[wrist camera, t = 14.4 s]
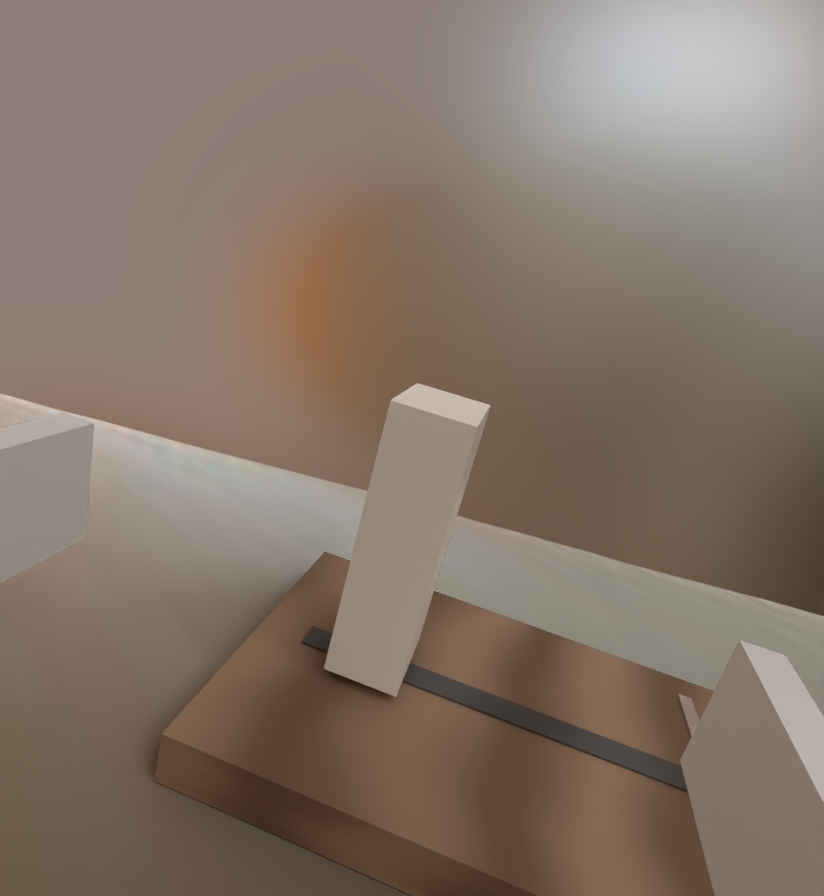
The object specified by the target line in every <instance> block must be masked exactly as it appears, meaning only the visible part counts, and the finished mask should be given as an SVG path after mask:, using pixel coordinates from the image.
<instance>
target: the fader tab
mask: <svg viewBox="0 0 824 896" xmlns="http://www.w3.org/2000/svg"><path fill="white" fill-rule="evenodd" d="M489 408H490V405H487V404H485V403H481V402H478V401H475V400H471V399H468V398H465V397H461V396H458V395H455V394H451V393H448V392H445V391H441V390H438V389H435V388H432V387H428V386H425V385H422V384H416V385H414V386H412V387H411V388H409V389H408V390H406V391H405V392H403V393H401V394H400V395H399V396H397V397H395V398H393V399H392V400H391V401H390V405H389V409H388V413H387V417H386V421H385V425H384V429H383V433H382V437H381V441H380V445H379V449H378V453H377V457H376V461H375V465H374V469H373V473H372V477H371V481H370V485H369V489H368V493H367V497H366V501H365V505H364V509H363V513H362V517H361V521H360V525H359V529H358V533H357V537H356V541H355V545H354V549H353V553H352V557H351V561H350V565H349V569H348V573H347V577H346V581H345V585H344V589H343V593H342V597H341V601H340V605H339V609H338V613H337V617H336V621H335V625H334V629H333V633H332V637H331V641H330V645H329V649H328V653H327V657H326V661H325V665H324V669H326V670H328V671H331V672H333V673H336V674H339V675H341V676H344V677H346V678H349V679H351V680H354V681H356V682H359V683H362V684H364V685H367V686H369V687H372V688H374V689H377V690H379V691H382V692H385V693H387V694H390V695H392V696H395V697H396V696H397V694H398V691H399V689H400V686H401V684H402V681H403V679H404V676H405V674H406V671H407V669H408V666H409V664H410V661H411V659H412V656H413V653H414V651H415V648H416V646H417V643H418V641H419V638H420V635H421V632H422V628H423V625H424V622H425V619H426V615H427V612H428V609H429V605H430V602H431V599H432V596H433V592H434V589H435V586H436V582H437V579H438V576H439V573H440V569H441V566H442V563H443V559H444V556H445V553H446V550H447V546H448V543H449V540H450V536H451V533H452V530H453V527H454V523H455V520H456V517H457V513H458V510H459V507H460V504H461V500H462V497H463V494H464V490H465V487H466V484H467V481H468V477H469V474H470V471H471V468H472V464H473V461H474V458H475V454H476V451H477V448H478V444H479V441H480V438H481V435H482V431H483V428H484V424H485V422H486V418H487V415H488V412H489Z"/></svg>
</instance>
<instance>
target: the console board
mask: <svg viewBox="0 0 824 896" xmlns="http://www.w3.org/2000/svg"><path fill="white" fill-rule="evenodd" d="M349 565H350V561H349V560H346V559H343V558H340V557H338V556H335V555H332V554H329V553H326V552H324V553H323V555H322V556H321V557H320V558H319V559H318V560H317V561H316V562H315V563H314V565H313V566H312V567H311V568H310V569H309V570H308V571H307V572H306V573H305V575H304V576H303V577H302V578H301V579H300V580H299V581H298V582H297V583H296V585H295V586H294V587H293V588H292V589H291V590H290V591H289V592H288V593H287V595H286V596H285V597H284V598H283V599H282V600H281V601H280V602H279V603H278V605H277V606H276V607H275V608H274V609H273V610H272V611H271V612H270V613H269V615H268V616H267V617H266V618H265V619H264V620H263V621H262V622H261V623H260V625H259V626H258V627H257V628H256V629H255V630H254V631H253V632H252V633H251V635H250V636H249V637H248V638H247V639H246V640H245V641H244V642H243V643H242V645H241V646H240V647H239V648H238V649H237V650H236V651H235V652H234V653H233V655H232V656H231V657H230V658H229V659H228V660H227V661H226V662H225V663H224V665H223V666H222V667H221V668H220V669H219V670H218V671H217V672H216V673H215V675H214V676H213V677H212V678H211V679H210V680H209V681H208V682H207V683H206V685H205V686H204V687H203V688H202V689H201V690H200V691H199V692H198V693H197V695H196V696H195V697H194V698H193V699H192V700H191V701H190V702H189V703H188V705H187V706H186V707H185V708H184V709H183V710H182V711H181V712H180V713H179V715H178V716H177V717H176V718H175V719H174V720H173V721H172V722H171V723H170V725H169V726H168V727H167V728H166V729H165V730H164V731H163V732H162V733H161V739H160V745H159V752H158V758H157V765H156V772H155V778H154V781H156V782H158V783H160V784H162V785H165V786H167V787H169V788H171V789H174V790H176V791H178V792H180V793H183V794H185V795H187V796H189V797H192V798H194V799H196V800H198V801H201V802H203V803H205V804H207V805H210V806H212V807H214V808H216V809H219V810H221V811H223V812H225V813H228V814H230V815H232V816H234V817H236V818H239V819H241V820H243V821H245V822H248V823H250V824H252V825H254V826H257V827H259V828H261V829H263V830H266V831H268V832H270V833H272V834H275V835H277V836H279V837H281V838H284V839H286V840H288V841H290V842H293V843H295V844H297V845H299V846H302V847H304V848H306V849H308V850H311V851H313V852H315V853H317V854H320V855H322V856H324V857H326V858H329V859H331V860H333V861H335V862H338V863H340V864H342V865H344V866H347V867H349V868H351V869H353V870H356V871H358V872H360V873H362V874H365V875H367V876H369V877H371V878H374V879H376V880H378V881H380V882H383V883H385V884H387V885H389V886H392V887H394V888H396V889H398V890H401V891H403V892H405V893H407V894H409V895H412V896H715V895H714V891H713V887H712V883H711V880H710V876H709V872H708V868H707V864H706V860H705V856H704V852H703V848H702V844H701V840H700V837H699V833H698V829H697V825H696V821H695V817H694V813H693V809H692V805H691V801H690V798H689V794H688V790H687V786H686V782H685V778H684V774H683V770H682V766H681V762H680V759H681V757H682V755H683V753H684V751H685V749H686V747H687V745H688V743H689V741H690V739H691V737H692V735H693V733H694V731H695V729H696V727H697V725H698V723H699V721H700V719H701V717H702V715H703V713H704V711H705V709H706V707H707V705H708V703H709V701H710V699H711V697H712V695H713V693H714V691H711V690H709V689H706V688H703V687H700V686H698V685H695V684H692V683H689V682H686V681H684V680H681V679H678V678H675V677H672V676H670V675H667V674H664V673H661V672H658V671H656V670H653V669H650V668H647V667H645V666H642V665H639V664H636V663H633V662H631V661H628V660H625V659H622V658H619V657H617V656H614V655H611V654H608V653H605V652H603V651H600V650H597V649H594V648H591V647H589V646H586V645H583V644H580V643H578V642H575V641H572V640H569V639H566V638H564V637H561V636H558V635H555V634H552V633H550V632H547V631H544V630H541V629H538V628H536V627H533V626H530V625H527V624H525V623H522V622H519V621H516V620H513V619H511V618H508V617H505V616H502V615H499V614H497V613H494V612H491V611H488V610H485V609H483V608H480V607H477V606H474V605H471V604H469V603H466V602H463V601H460V600H458V599H455V598H452V597H449V596H446V595H444V594H441V593H438V592H435V591H434V592H433V596H432V599H431V602H430V605H429V609H428V612H427V615H426V619H425V622H424V625H423V628H422V632H421V635H420V638H419V641H418V643H417V646H416V648H415V651H414V653H413V656H412V659H411V661H410V664H409V666H408V669H407V671H406V674H405V676H404V679H403V681H402V684H401V686H400V689H399V691H398V694H397V696H396V697H395V696H392V695H390V694H387V693H385V692H382V691H379V690H377V689H374V688H372V687H369V686H367V685H364V684H362V683H359V682H356V681H354V680H351V679H349V678H346V677H344V676H341V675H339V674H336V673H333V672H331V671H328V670H326V669H324V665H325V661H326V657H327V653H328V649H329V645H330V641H331V637H332V633H333V629H334V625H335V621H336V617H337V613H338V609H339V605H340V601H341V597H342V593H343V589H344V585H345V581H346V577H347V573H348V569H349Z"/></svg>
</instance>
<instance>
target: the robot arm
mask: <svg viewBox="0 0 824 896" xmlns="http://www.w3.org/2000/svg"><path fill="white" fill-rule="evenodd" d="M93 430H94V423H92V422H89V421H86V420H83V419H80V418H77V417H74V416H71V415H68V414H65V413H61V414H57V415H53V416H49V417H44V418H40V419H36V420H32V421H28V422H24V423H20V424H16V425H12V426H7V427H3V428H0V582H2V581H4V580H6V579H8V578H10V577H12V576H14V575H16V574H18V573H20V572H22V571H23V570H25V569H27V568H29V567H31V566H33V565H35V564H37V563H39V562H41V561H43V560H45V559H47V558H49V557H50V556H52V555H54V554H56V553H58V552H60V551H62V550H64V549H66V548H68V547H70V546H72V545H74V544H76V543H77V542H79V541H81V540H83V539H85V538H86V526H87V512H88V499H89V485H90V471H91V458H92V444H93ZM680 762H681V766H682V770H683V774H684V778H685V782H686V786H687V790H688V794H689V798H690V801H691V805H692V809H693V813H694V817H695V821H696V825H697V829H698V833H699V837H700V840H701V844H702V848H703V852H704V856H705V860H706V864H707V868H708V872H709V876H710V880H711V883H712V887H713V891H714V895H715V896H824V716H823V715H822V713H821V712H820V710H819V708H818V707H817V705H816V703H815V702H814V700H813V699H812V697H811V695H810V694H809V692H808V691H807V689H806V687H805V686H804V684H803V683H802V681H801V679H800V678H799V676H798V674H797V673H796V671H795V670H794V668H793V666H792V665H791V663H790V662H789V660H788V658H787V657H786V655H783V654H780V653H777V652H774V651H771V650H768V649H765V648H762V647H759V646H756V645H753V644H750V643H747V642H744V641H741V640H739V642H738V644H737V646H736V648H735V650H734V652H733V654H732V656H731V658H730V660H729V662H728V664H727V667H726V669H725V671H724V673H723V675H722V677H721V679H720V681H719V683H718V685H717V687H716V689H715V691H714V693H713V695H712V697H711V699H710V701H709V703H708V705H707V707H706V709H705V711H704V713H703V715H702V717H701V719H700V721H699V723H698V725H697V727H696V729H695V731H694V733H693V735H692V737H691V739H690V741H689V743H688V745H687V747H686V749H685V751H684V753H683V755H682V757H681V759H680Z"/></svg>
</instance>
